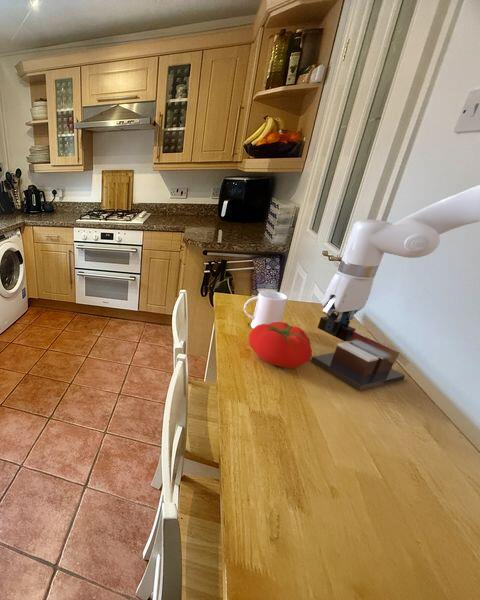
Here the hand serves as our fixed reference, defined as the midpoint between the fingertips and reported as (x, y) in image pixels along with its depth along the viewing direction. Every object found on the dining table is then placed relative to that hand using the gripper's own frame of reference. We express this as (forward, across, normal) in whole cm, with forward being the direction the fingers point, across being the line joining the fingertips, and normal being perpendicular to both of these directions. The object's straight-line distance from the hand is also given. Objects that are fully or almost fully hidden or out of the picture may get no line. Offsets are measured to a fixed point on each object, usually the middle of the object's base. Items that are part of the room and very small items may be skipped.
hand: (334, 331), depth 89 cm
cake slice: (+6, +2, +8) cm, 10 cm away
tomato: (+8, +16, -2) cm, 18 cm away
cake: (+6, -3, +8) cm, 11 cm away
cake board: (+7, 0, +8) cm, 11 cm away
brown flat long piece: (+1, 0, +5) cm, 6 cm away
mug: (+8, +6, -19) cm, 21 cm away
